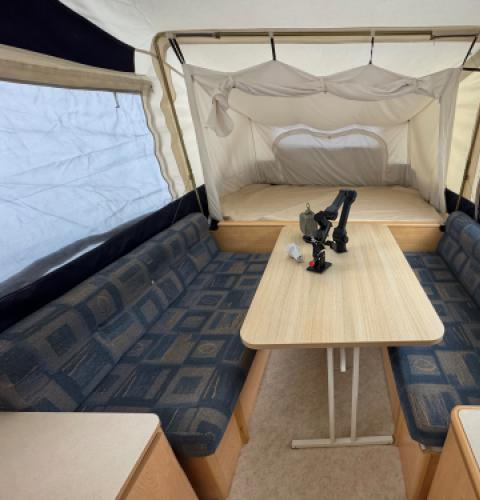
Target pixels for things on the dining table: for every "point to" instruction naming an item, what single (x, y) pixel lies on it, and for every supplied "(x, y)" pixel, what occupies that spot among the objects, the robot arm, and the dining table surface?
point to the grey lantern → (307, 221)
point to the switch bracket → (320, 264)
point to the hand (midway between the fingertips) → (313, 256)
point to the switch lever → (314, 260)
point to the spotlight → (294, 252)
